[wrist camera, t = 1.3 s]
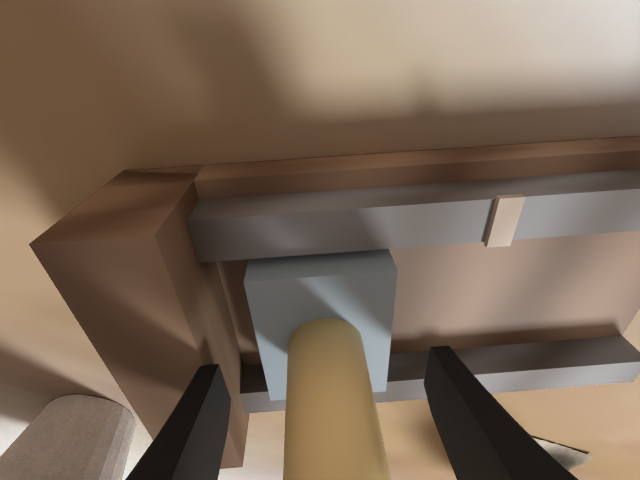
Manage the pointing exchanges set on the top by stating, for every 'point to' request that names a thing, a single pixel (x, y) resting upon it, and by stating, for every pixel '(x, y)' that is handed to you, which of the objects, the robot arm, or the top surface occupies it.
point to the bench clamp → (361, 235)
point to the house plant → (72, 442)
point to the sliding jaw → (326, 356)
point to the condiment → (564, 454)
